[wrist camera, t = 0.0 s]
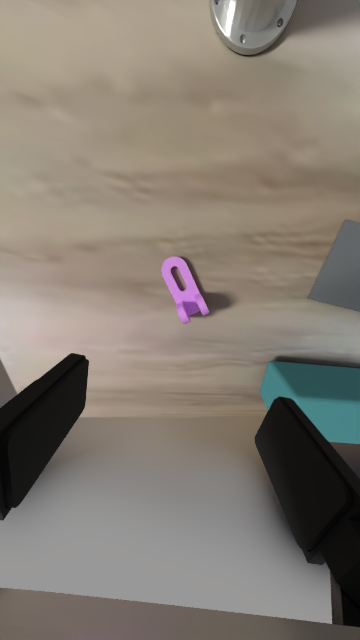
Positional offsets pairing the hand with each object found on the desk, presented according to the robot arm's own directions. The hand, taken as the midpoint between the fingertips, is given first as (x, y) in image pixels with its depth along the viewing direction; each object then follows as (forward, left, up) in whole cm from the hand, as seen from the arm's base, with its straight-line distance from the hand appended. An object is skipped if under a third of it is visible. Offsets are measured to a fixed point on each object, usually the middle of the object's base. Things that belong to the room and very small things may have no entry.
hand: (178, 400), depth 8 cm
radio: (+13, +40, -32) cm, 53 cm away
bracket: (-2, 0, -32) cm, 32 cm away
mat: (-14, +38, -31) cm, 51 cm away
